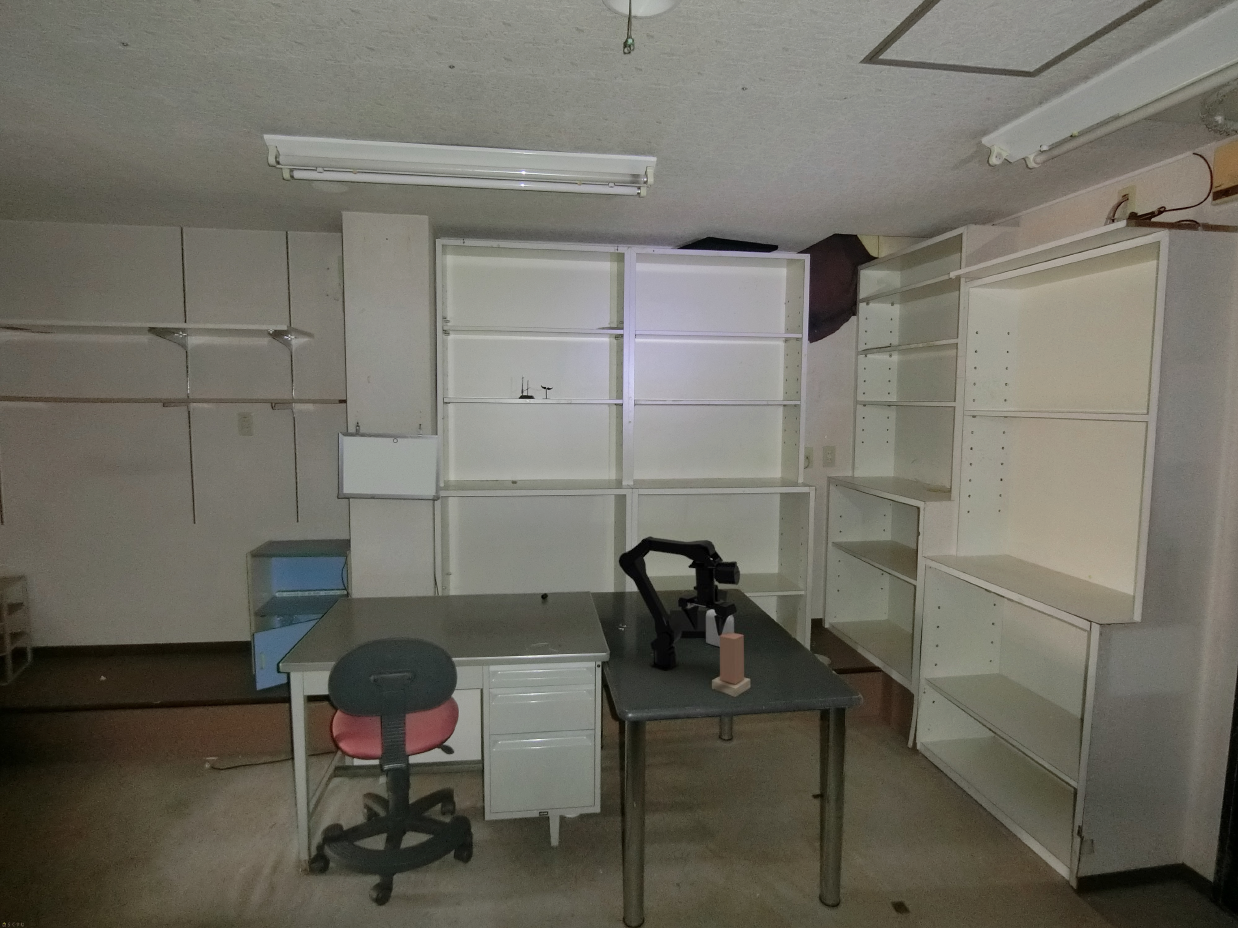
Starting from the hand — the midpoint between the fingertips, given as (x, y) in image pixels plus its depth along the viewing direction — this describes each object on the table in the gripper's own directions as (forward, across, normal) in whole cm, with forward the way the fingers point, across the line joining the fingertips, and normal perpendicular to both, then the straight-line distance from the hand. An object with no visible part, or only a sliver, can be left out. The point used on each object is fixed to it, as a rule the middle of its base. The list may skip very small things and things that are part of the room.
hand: (707, 632), depth 194 cm
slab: (+14, -10, +3) cm, 18 cm away
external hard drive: (+13, +31, -28) cm, 44 cm away
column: (+11, -11, +3) cm, 16 cm away
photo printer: (+13, +12, -21) cm, 28 cm away
